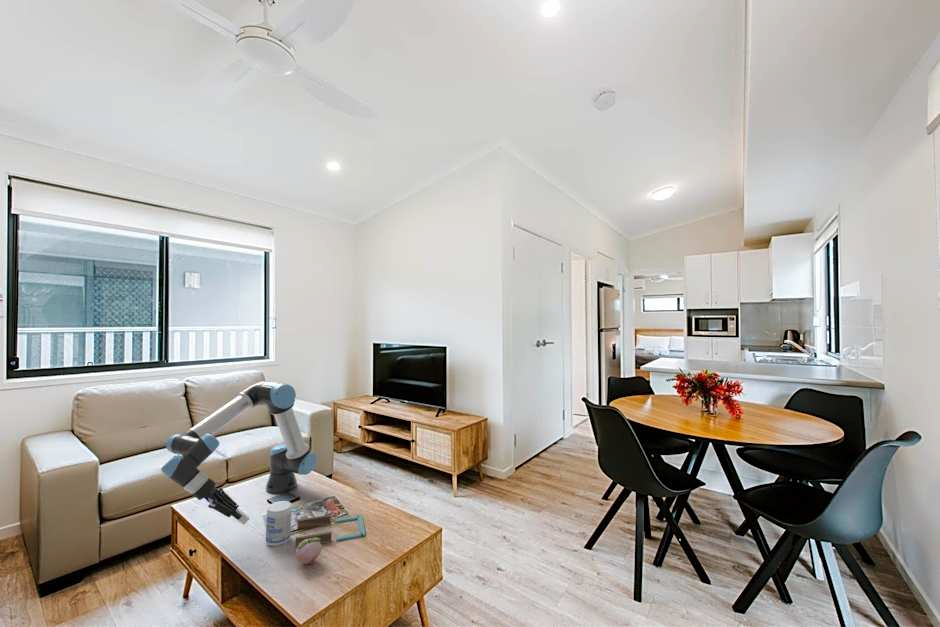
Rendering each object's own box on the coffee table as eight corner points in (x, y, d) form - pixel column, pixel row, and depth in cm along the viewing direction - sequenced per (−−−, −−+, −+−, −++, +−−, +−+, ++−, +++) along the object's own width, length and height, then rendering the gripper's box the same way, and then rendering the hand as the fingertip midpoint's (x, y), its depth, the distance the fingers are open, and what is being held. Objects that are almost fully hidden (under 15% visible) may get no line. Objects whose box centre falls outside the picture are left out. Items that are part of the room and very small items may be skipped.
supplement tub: (263, 548, 160) (264, 512, 159) (267, 535, 169) (268, 501, 169) (289, 545, 162) (290, 509, 162) (292, 532, 172) (293, 499, 171)
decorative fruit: (313, 553, 157) (314, 528, 157) (324, 562, 152) (325, 536, 152) (290, 564, 150) (291, 538, 150) (301, 574, 145) (301, 547, 145)
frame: (334, 520, 182) (334, 519, 182) (361, 516, 186) (361, 514, 186) (336, 541, 166) (336, 539, 166) (365, 536, 170) (365, 534, 170)
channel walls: (297, 527, 176) (297, 519, 176) (330, 522, 181) (330, 514, 181) (295, 547, 161) (295, 539, 161) (331, 541, 166) (331, 533, 166)
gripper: (197, 486, 160) (242, 520, 166) (187, 501, 148) (236, 537, 154) (212, 472, 162) (256, 506, 168) (203, 485, 150) (251, 521, 156)
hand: (246, 521), depth 161 cm, fingers closed
